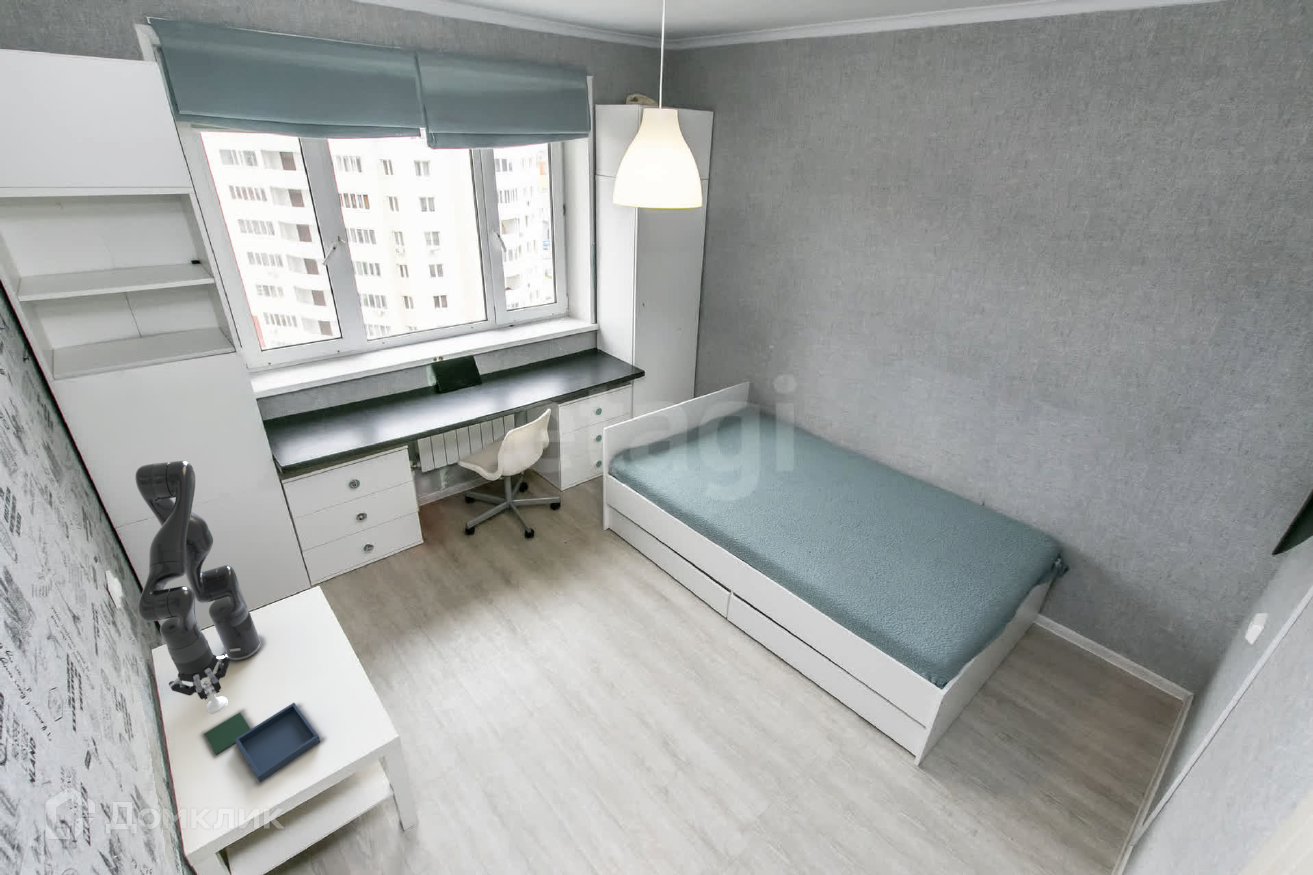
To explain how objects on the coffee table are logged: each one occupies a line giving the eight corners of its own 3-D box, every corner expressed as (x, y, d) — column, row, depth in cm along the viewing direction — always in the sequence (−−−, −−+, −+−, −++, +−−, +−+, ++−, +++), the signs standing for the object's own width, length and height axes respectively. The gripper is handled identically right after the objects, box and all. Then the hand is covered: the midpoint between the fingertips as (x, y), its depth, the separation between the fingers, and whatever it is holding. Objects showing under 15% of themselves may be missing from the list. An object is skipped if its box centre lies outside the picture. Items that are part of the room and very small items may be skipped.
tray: (236, 744, 164) (234, 739, 163) (296, 707, 175) (294, 702, 174) (259, 782, 156) (257, 777, 155) (320, 741, 167) (318, 735, 166)
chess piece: (217, 715, 158) (205, 691, 153) (201, 711, 159) (189, 687, 154) (232, 699, 163) (221, 676, 158) (216, 695, 163) (205, 672, 158)
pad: (204, 734, 166) (203, 733, 166) (240, 712, 172) (239, 712, 172) (216, 755, 161) (216, 754, 161) (252, 732, 168) (252, 731, 167)
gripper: (215, 626, 156) (234, 669, 165) (151, 658, 147) (175, 702, 156) (226, 642, 152) (245, 685, 161) (161, 675, 143) (185, 720, 152)
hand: (211, 693), depth 158 cm, fingers closed on chess piece
